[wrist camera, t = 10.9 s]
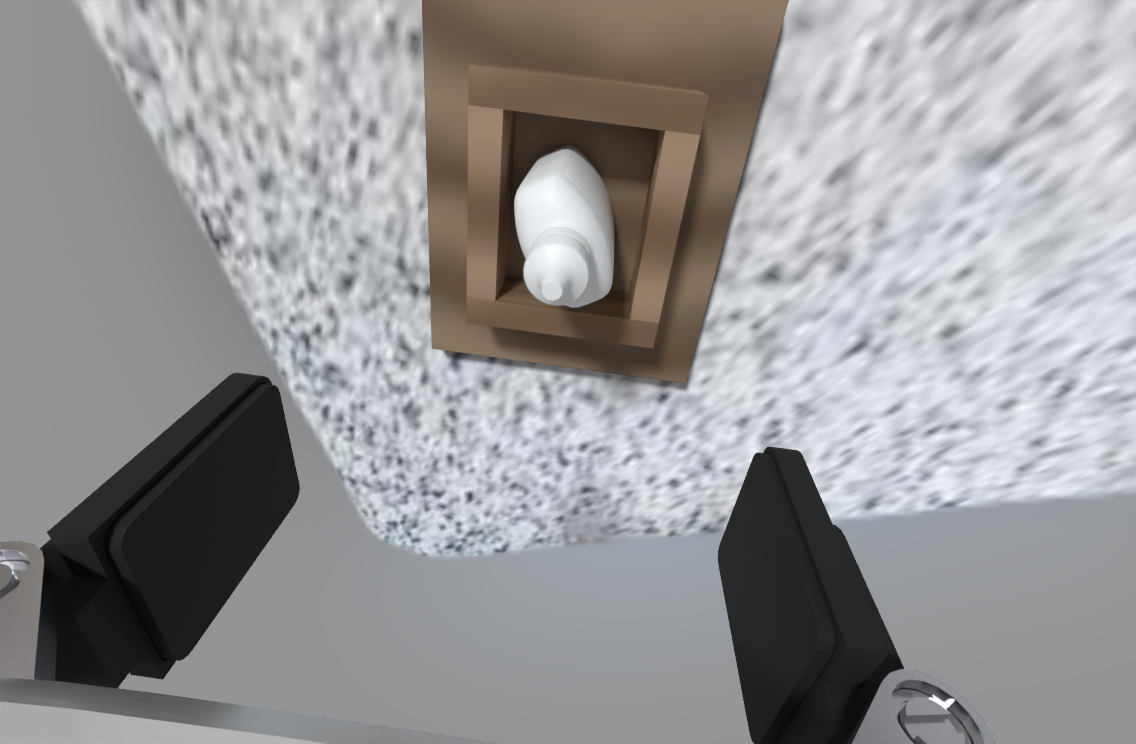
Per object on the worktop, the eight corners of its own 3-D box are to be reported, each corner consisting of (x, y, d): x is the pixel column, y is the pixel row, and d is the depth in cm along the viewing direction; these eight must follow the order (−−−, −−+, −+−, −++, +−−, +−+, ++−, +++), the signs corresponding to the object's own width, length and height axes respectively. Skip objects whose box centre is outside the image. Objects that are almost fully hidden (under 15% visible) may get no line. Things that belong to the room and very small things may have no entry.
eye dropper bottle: (625, 147, 27) (628, 213, 17) (611, 256, 30) (607, 369, 20) (537, 139, 27) (487, 199, 17) (532, 248, 30) (487, 356, 20)
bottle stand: (430, -49, 25) (391, -67, 20) (781, -4, 24) (815, -14, 20) (438, 337, 35) (413, 378, 31) (683, 370, 35) (692, 416, 31)
